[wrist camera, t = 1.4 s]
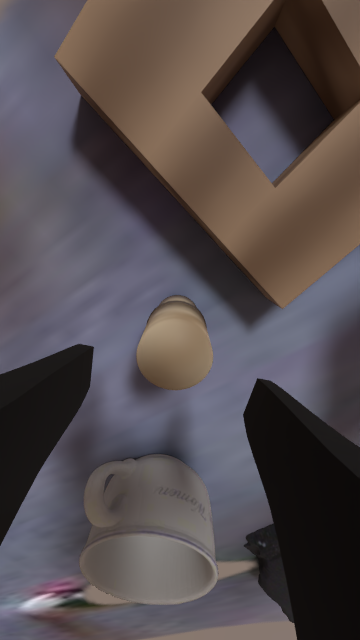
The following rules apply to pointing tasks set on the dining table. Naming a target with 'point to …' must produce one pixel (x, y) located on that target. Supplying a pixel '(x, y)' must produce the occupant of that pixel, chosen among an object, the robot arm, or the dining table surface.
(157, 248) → the dining table surface
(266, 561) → the dark slate chunk
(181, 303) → the peg
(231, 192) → the board
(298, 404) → the robot arm
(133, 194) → the dining table surface
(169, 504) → the teacup
